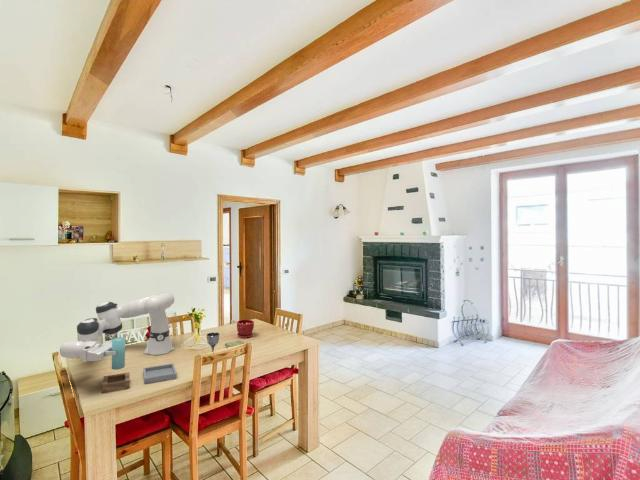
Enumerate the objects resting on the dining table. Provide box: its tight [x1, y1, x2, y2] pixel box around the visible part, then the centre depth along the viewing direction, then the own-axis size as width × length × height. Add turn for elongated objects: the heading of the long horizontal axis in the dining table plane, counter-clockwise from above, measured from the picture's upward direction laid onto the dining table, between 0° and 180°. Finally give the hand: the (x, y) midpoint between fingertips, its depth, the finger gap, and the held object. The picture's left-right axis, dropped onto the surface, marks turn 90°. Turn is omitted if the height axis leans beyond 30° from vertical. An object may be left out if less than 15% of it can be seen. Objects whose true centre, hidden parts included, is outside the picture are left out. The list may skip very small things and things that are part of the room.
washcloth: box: [224, 340, 245, 348], centre depth 243 cm, size 13×18×3 cm
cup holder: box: [101, 372, 131, 394], centre depth 180 cm, size 12×12×4 cm
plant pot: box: [236, 319, 255, 339], centre depth 269 cm, size 13×13×12 cm
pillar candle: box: [111, 337, 126, 371], centre depth 180 cm, size 6×6×15 cm
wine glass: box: [206, 331, 220, 353], centre depth 224 cm, size 8×8×15 cm
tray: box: [142, 363, 178, 385], centre depth 194 cm, size 16×16×3 cm
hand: (120, 350), depth 180 cm, fingers closed on pillar candle, 6 cm apart
